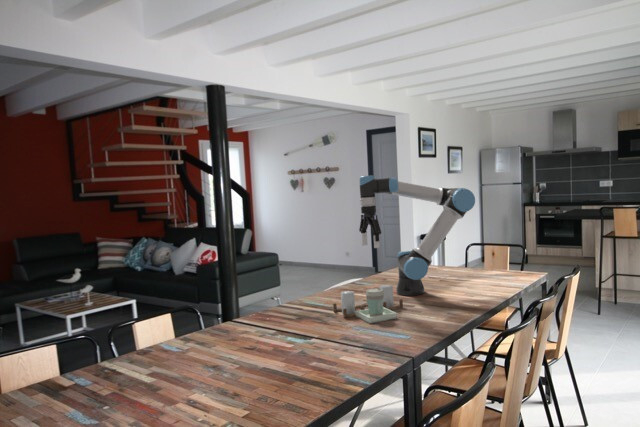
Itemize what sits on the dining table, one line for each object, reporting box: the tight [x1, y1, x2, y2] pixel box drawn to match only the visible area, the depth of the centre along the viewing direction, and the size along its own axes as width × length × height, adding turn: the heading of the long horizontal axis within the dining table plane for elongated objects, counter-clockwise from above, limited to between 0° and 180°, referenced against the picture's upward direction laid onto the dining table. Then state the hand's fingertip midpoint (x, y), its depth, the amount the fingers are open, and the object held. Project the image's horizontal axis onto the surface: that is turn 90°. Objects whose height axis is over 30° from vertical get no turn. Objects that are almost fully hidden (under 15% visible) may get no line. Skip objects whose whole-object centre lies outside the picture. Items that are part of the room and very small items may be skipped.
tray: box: [355, 307, 398, 324], centre depth 220 cm, size 14×14×2 cm
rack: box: [332, 298, 404, 319], centre depth 234 cm, size 32×14×4 cm, turn 111°
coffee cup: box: [365, 287, 384, 317], centre depth 219 cm, size 8×8×12 cm
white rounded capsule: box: [340, 290, 356, 315], centre depth 230 cm, size 6×6×10 cm
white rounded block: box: [379, 284, 395, 308], centre depth 237 cm, size 6×6×10 cm
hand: (370, 246), depth 248 cm, fingers open, 13 cm apart
